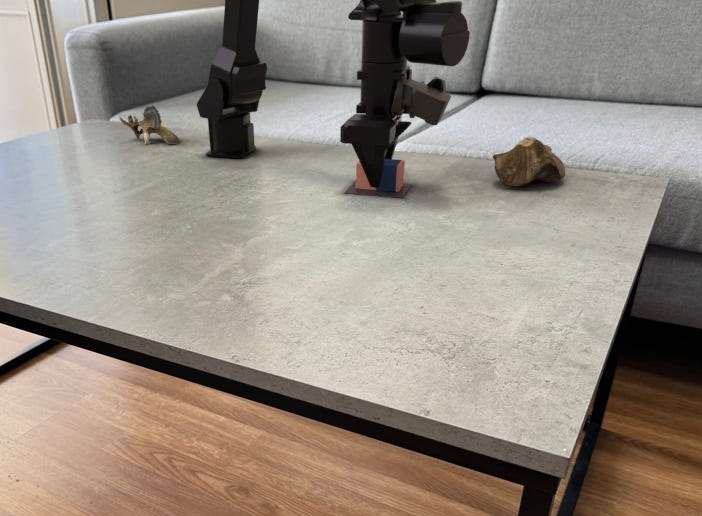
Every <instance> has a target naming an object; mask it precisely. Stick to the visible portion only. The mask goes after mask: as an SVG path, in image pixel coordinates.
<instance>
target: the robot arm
mask: <svg viewBox="0 0 702 516" xmlns="http://www.w3.org/2000/svg"><path fill="white" fill-rule="evenodd" d="M462 7H463V3H462V1H460V0H450V1H444V2H443V1H442V2H437V0H359V2H358V4H357V5H356V6H355V7H354V8H353V9H352V10H351V11H350V13H348V15H347V16H348V17H347V18H348V20H350V21H362V27H361V28H362V30H361V31H362V32H361V64H360V66H361V67H360V69H359V70H357V71H356V80H357V81H360V102H358V104H356V105H355V113H354V114H352V115H351V116H350V117H349V118H348V119H347V120H346V121H345V122H343V124H342V125H341V126H340V133H339V134H340V135H339V136H340V138H339V140H340V143H341V144H346V145H351V146H352V148H353V150H354V152H355V154H356V156H357V158H358V161H360V163H361V165H362V168H363V170H364V172H365V175H366V177H367V179H368V182H369V184H370V186H371V187H374V188H378V187H379V185H380V180H381V176H382V171H383V166H384V161H385V159H393V158H394V154H395V150H396V146H397V143H398V141H399V138H400V136H401V135H402V134H403V133H404V132H405V131H407V130H408V128H409V127H410V126H411V125H412V122H411V121H407V120H406V121H405V120H402V119H403V118H402V116H403V115H408V116H409V119H415V118H419V119H421V120H423V121H424V122H425V124H428V125H432V126H438V125H439V123H440V121H441V120H442V119H443V116H444V115H445V111H446V109H447V107H448V105H449V102H450V101H451V98H452V96H451V93H450V92H448V91H447V87H446V86H447V85H446V84H447V82H446V80H445V79H442V78H440V77H438V76H434V78H432V79H431V80H430V81H429V82H428V83H427V84H426V83H425V81H418V80H414V79H412V75H413V69H411V66H410V65H408V62H409V63H413V64H422V65H433V66H443V67H455V66H457V65H458V64H460V63H461V61H462V60H463V58H464V57H465V55H466V52H467V50H468V46H469V43H470V34H471V32H470V30H469V24H468V21H467V18H466V16H465V15H464V14H463V13H462V9H463V8H462ZM259 9H260V0H224V12H223V13H224V14H223V27H222V43H221V46H220V48H219V50H218V51H217V53H216V55H215V57H214V59H213V60H212V62H211V64H210V68H209V69H210V70H209V75H208V81H207V86H206V87H205V89H204V90H203V92H202V94H201V96H200V97H199V99H198V101H197V102H196V108H197V110H198V111H197V112H198V114H199V117H200V118H201V119H207V126H208V138H209V150H208V151H207V152H205V155H206V157H216V158H228V159H229V158H230V159H231V158H232V159H243V158H244V157H247V156H248V155H249V154H251V153H252V152H254V151H255V150H257V146H256V145H255V127H254V125H255V124H254V123H253V122H251V113H257V112H258V110H259V109H258V108H259V105H260V99H261V98H262V95H263V92H264V91H265V90H267V87H266V76H267V72H268V64H267V63H266V62H264V61H261V59H260V57H259V54H258V52H257V50H256V41H257V31H258V29H257V28H258V20H259V11H260V10H259Z"/></svg>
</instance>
